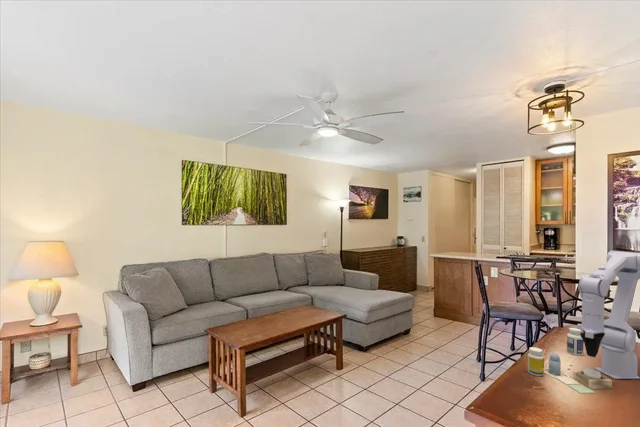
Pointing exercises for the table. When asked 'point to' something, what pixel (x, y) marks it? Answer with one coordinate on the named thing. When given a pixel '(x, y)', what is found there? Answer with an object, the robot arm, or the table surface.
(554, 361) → the pawn
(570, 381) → the square
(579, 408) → the table surface
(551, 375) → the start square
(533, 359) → the supplement bottle
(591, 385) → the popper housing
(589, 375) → the dome
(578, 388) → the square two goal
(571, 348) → the pill bottle
